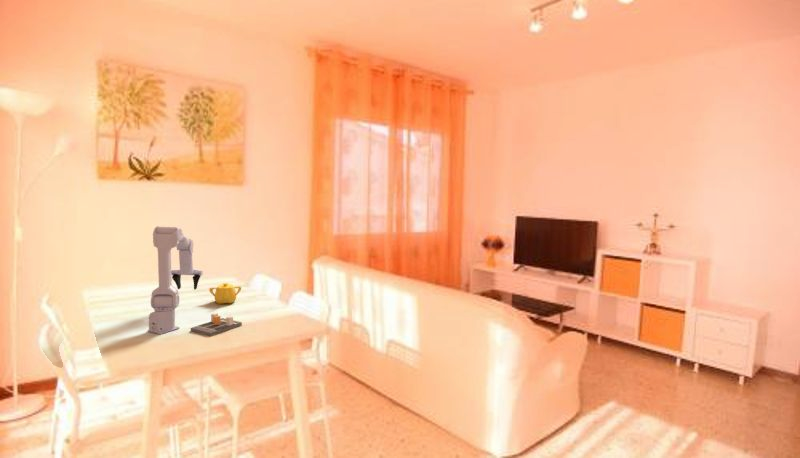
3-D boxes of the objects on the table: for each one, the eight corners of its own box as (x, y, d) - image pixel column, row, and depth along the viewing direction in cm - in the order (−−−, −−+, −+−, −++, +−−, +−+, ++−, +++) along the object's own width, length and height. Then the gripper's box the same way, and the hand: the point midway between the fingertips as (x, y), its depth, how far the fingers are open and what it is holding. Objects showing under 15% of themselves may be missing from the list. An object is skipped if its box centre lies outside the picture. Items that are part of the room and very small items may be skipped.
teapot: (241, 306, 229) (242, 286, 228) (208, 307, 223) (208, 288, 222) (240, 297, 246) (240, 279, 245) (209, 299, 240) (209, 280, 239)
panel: (211, 336, 183) (211, 324, 182) (190, 331, 188) (190, 319, 187) (241, 325, 198) (241, 314, 198) (222, 321, 203) (222, 310, 203)
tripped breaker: (216, 325, 191) (216, 317, 191) (213, 324, 192) (213, 316, 192) (220, 323, 193) (220, 316, 193) (217, 323, 194) (217, 315, 194)
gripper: (204, 260, 220) (205, 285, 223) (173, 259, 218) (175, 285, 221) (199, 265, 213) (200, 291, 216) (167, 264, 211) (169, 290, 214)
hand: (187, 288), depth 218 cm, fingers open, 7 cm apart
